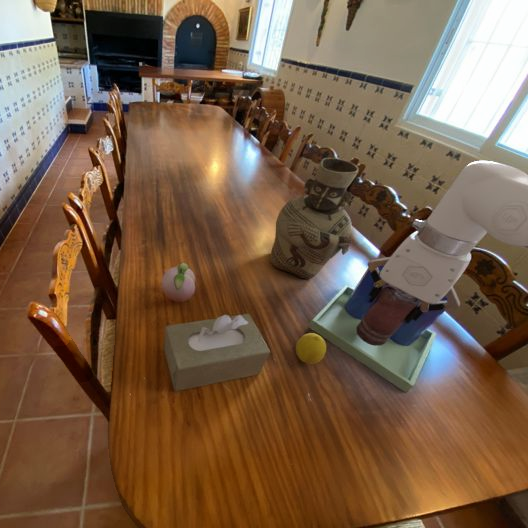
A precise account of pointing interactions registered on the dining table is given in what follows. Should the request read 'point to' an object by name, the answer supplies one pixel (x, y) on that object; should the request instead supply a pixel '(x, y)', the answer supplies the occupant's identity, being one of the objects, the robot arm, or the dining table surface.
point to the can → (386, 315)
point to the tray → (375, 357)
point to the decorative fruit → (179, 283)
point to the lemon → (311, 348)
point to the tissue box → (214, 351)
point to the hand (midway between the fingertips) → (389, 308)
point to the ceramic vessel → (315, 221)
